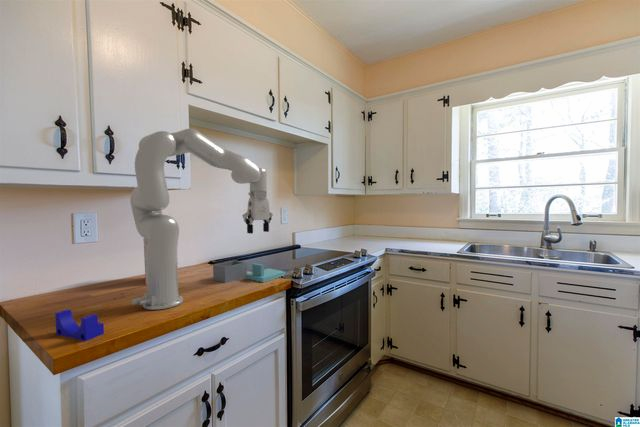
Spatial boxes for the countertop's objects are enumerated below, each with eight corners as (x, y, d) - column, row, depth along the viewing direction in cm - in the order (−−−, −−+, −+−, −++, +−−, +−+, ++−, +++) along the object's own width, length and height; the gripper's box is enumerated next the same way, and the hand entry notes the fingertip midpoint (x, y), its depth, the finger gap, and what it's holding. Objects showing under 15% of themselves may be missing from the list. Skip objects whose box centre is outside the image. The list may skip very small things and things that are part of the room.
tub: (225, 282, 129) (225, 267, 129) (213, 279, 134) (213, 264, 134) (246, 277, 139) (246, 262, 139) (234, 274, 144) (234, 260, 144)
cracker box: (147, 277, 138) (146, 233, 137) (162, 276, 140) (161, 233, 139) (144, 285, 125) (142, 237, 124) (160, 283, 128) (158, 236, 127)
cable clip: (104, 334, 80) (103, 312, 80) (86, 341, 76) (85, 319, 76) (74, 327, 84) (73, 307, 84) (56, 334, 80) (55, 313, 79)
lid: (263, 282, 130) (263, 267, 129) (246, 278, 136) (245, 263, 136) (285, 275, 141) (285, 261, 141) (268, 272, 148) (268, 258, 148)
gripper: (248, 194, 124) (248, 234, 125) (277, 195, 138) (277, 231, 139) (237, 194, 129) (237, 233, 129) (266, 195, 143) (266, 230, 143)
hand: (258, 232), depth 134 cm, fingers open, 9 cm apart
